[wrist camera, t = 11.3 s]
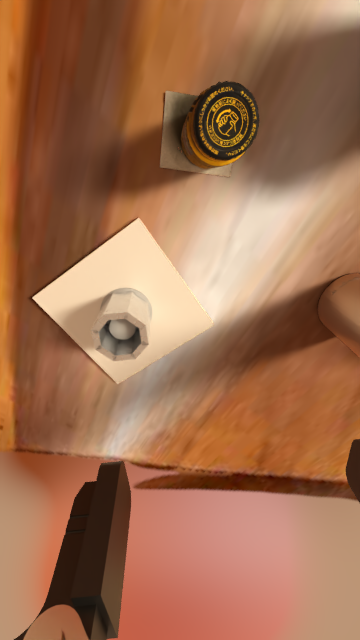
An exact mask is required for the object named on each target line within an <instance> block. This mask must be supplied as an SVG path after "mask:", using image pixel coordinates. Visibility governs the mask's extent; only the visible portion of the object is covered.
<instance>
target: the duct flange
mask: <svg viewBox="0 0 360 640" xmlns="http://www.w3.org/2000/svg"><path fill="white" fill-rule="evenodd" d="M126 291H134V292H135V293H137V294H138V295H139V296H141V297H142V298H143V299H145V300H146V301H147V302H149V310H150V318H151V323H150V335H149V345H148V346H147V347H146V348H145V349H144V350H143V351H142V353H141V354H140V355H139V356H138V357H137V358H136V359H134V360H123V361H112V360H111V359H109V358H108V357H106V356H104V355H103V354H101V353H100V352H98V351H97V350H95V346H94V342H93V338H92V333H91V329H92V327H93V324H94V322H95V320H96V318H97V316H98V314H99V312H100V310H101V308H102V306H103V305H104V304H105V302H106V301H107V300H108V299H109V297H110V296H111V295H112V294H113V293H114V292H126ZM32 298H33V299H34V300H35V301H36V302H37V303H38V305H39V306H40V307H41V308H42V309H43V310H44V311H45V312H46V313H47V314H48V315H49V316H50V317H51V318H52V319H53V320H54V321H55V322H56V323H57V324H58V325H59V326H60V327H61V328H62V329H63V330H64V331H65V332H66V333H67V334H68V335H69V336H70V337H71V338H72V339H73V340H74V341H75V342H76V343H77V344H78V345H79V346H80V347H81V348H82V349H83V350H84V351H85V352H86V353H87V354H88V355H89V356H90V357H91V358H92V359H93V360H94V361H95V362H96V363H97V364H98V365H99V366H100V367H101V368H102V369H103V370H104V371H105V372H106V373H107V374H108V375H109V376H110V377H111V378H112V379H113V380H114V381H115V382H116V383H117V384H119V383H121V382H123V381H124V380H126V379H127V378H129V377H131V376H132V375H134V374H136V373H137V372H139V371H140V370H142V369H144V368H145V367H147V366H149V365H150V364H152V363H153V362H155V361H157V360H158V359H160V358H162V357H163V356H165V355H166V354H168V353H170V352H171V351H173V350H175V349H176V348H178V347H180V346H181V345H183V344H184V343H186V342H188V341H189V340H191V339H193V338H194V337H196V336H197V335H199V334H201V333H202V332H204V331H206V330H207V329H209V328H210V327H212V326H214V323H213V321H212V320H211V318H210V317H209V315H208V314H207V313H206V311H205V310H204V308H203V307H202V306H201V304H200V303H199V301H198V300H197V298H196V297H195V296H194V294H193V293H192V291H191V290H190V289H189V287H188V286H187V284H186V283H185V282H184V280H183V279H182V277H181V276H180V275H179V273H178V272H177V270H176V269H175V268H174V266H173V265H172V263H171V262H170V260H169V259H168V258H167V256H166V255H165V253H164V252H163V251H162V249H161V248H160V246H159V245H158V244H157V242H156V241H155V239H154V238H153V237H152V235H151V234H150V232H149V231H148V230H147V228H146V227H145V225H144V224H143V222H142V221H141V220H140V218H137V219H136V220H135V221H133V222H132V223H131V224H129V225H128V226H127V227H125V228H124V229H123V230H121V231H120V232H119V233H117V234H116V235H115V236H113V237H112V238H111V239H109V240H108V241H107V242H105V243H104V244H103V245H101V246H100V247H99V248H97V249H96V250H95V251H93V252H92V253H91V254H89V255H88V256H87V257H85V258H84V259H83V260H81V261H80V262H79V263H77V264H76V265H75V266H73V267H72V268H71V269H69V270H68V271H67V272H65V273H64V274H63V275H61V276H60V277H59V278H57V279H56V280H55V281H53V282H52V283H51V284H49V285H48V286H47V287H45V288H44V289H43V290H41V291H40V292H39V293H37V294H36V295H35V296H34V297H32ZM135 328H137V326H135V325H134V324H132V323H131V322H129V321H128V320H127V319H116V320H111V322H110V325H109V330H110V332H111V334H112V335H113V336H114V337H115V338H117V339H122V340H124V339H128V338H130V337H132V336H133V334H134V332H135Z"/></svg>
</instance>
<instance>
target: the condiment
mask: <svg viewBox="0 0 360 640" xmlns="http://www.w3.org/2000/svg"><path fill="white" fill-rule="evenodd" d="M258 127H259V114H258V107H257V104H256V101H255V99H254V97H253V95H252V93H251V92H249V90H248V89H246V88H245V87H244V86H242V85H241V84H239V83H235V82H228V81H225V82H222V83H221V82H218V83H217V84H216V85H213V86H211V87H210V88H208V89H206V90H205V91H203V92H202V93H201V94H200V95H199V96H194V95H189V94H182V93H177V92H171V91H166V95H165V107H164V119H163V132H162V145H161V156H160V167H161V168H168V169H176V170H183V171H190V172H197V173H204V174H211V175H219V176H226V177H230V173H231V168H232V163H233V162H234V161H236V160H237V159H238V158H240V157H241V156H242V155H243V154H244V153H245V151H246V150H247V149H248V148H249V147H250V146H251V144H252V142H253V140H254V139H255V137H256V135H257V130H258ZM178 147H179V149H180V150H178ZM181 150H182V153H181Z"/></svg>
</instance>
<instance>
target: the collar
mask: <svg viewBox="0 0 360 640" xmlns="http://www.w3.org/2000/svg"><path fill="white" fill-rule="evenodd" d="M116 319H127V320H128V321H129V322H131V323H132V324H134V325H135V326H137V328H135V332H134V334H133V336H132V337H130V338H128V339H124V340H122V339H117V338H115V337H114V336H113V335H112V334H111V332H110V330H109V325H110V322H111V320H116ZM150 323H151V318H150V310H149V302H147V301H146V300H145V299H143V298H142V297H141V296H139V295H138V294H137V293H135V292H134V291H126V292H114V293H113V294H112V295H111V296H110V297H109V299H108V300H107V301H106V302H105V304H104V305H103V306H102V308H101V310H100V312H99V314H98V316H97V318H96V320H95V322H94V324H93V327H92V329H91V333H92V338H93V342H94V346H95V350H97V351H98V352H100V353H101V354H103V355H104V356H106V357H108V358H109V359H111V360H112V361H123V360H134V359H136V358H137V357H138V356H139V355H140V354H141V353H142V351H143V350H144V349H145V348H146V347H147V346H148V345H149V335H150Z"/></svg>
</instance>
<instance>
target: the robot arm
mask: <svg viewBox="0 0 360 640" xmlns="http://www.w3.org/2000/svg"><path fill="white" fill-rule="evenodd" d="M318 315H319V318H320V320H321V322H322V323H323V324H324V325H325V326H326V327H327V328H328V329H329V330H330V331H331V332H332V333H333V334H334V335H336V336H337V337H338V338H339V339H340V340H341V341H342V342H343V343H344V344H345V345H346V346H347V347H349V348H350V349H351V350H352V351H353V352H354V353H355V354H356V355H357V356H358V357H360V273H352V274H348V275H344V276H342V277H340V278H338V279H337V280H335V281H334V282H332V283H331V284H330V285H329V286H328V287H327V288H326V289H325V291H324V292H323V294H322V296H321V298H320V300H319V304H318ZM346 476H347V480H348V483H349V485H350V487H351V489H352V491H353V492H354V494H355V496H356V497H357V499H358V501H359V502H360V439H356V440H354V441H353V442H352V445H351V449H350V453H349V458H348V462H347V466H346ZM130 511H131V491H130V486H129V482H128V477H127V473H126V469H125V464H124V462H123V461H119V462H108V463H102V464H101V465H100V468H99V472H98V476H97V481H94V482H85V484H84V485H83V487H82V488H81V490H80V491H79V493H78V494H77V496H76V497H75V499H74V503H73V506H72V510H71V514H70V519H69V521H68V525H67V528H66V534H65V535H64V539H63V542H62V546H61V549H60V553H59V557H58V560H57V563H56V567H55V571H54V575H53V578H52V582H51V585H50V588H49V592H48V595H47V598H46V601H45V603H44V606H43V608H42V609H41V611H40V613H39V615H38V616H37V618H36V619H35V620H34V622H33V623H32V624H31V625H30V626H29V628H28V629H27V630H25V631H24V632H23V633H22V634H21V635H20V636H18V637H17V638H16V639H14V640H106V639H109V638H117V637H118V628H119V618H120V609H121V598H122V589H123V579H124V570H125V560H126V550H127V540H128V529H129V520H130Z"/></svg>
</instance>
